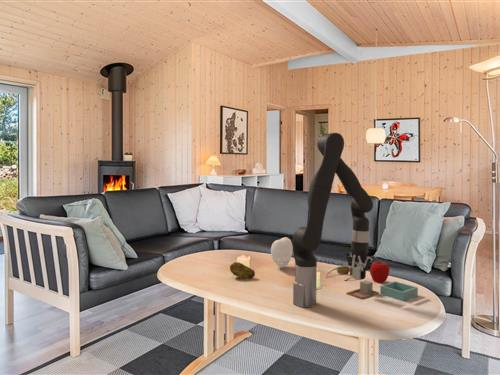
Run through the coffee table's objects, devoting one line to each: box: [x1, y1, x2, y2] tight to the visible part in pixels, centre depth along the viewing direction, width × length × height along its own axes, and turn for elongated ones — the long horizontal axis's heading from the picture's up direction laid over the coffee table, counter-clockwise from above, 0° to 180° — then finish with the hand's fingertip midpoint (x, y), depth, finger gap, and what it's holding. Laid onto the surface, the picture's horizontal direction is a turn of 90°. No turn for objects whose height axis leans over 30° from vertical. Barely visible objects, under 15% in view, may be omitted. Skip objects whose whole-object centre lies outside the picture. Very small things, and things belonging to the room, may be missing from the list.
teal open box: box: [379, 280, 419, 302], centre depth 178 cm, size 12×12×4 cm
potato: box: [229, 261, 256, 280], centre depth 206 cm, size 8×13×8 cm, turn 59°
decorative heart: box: [270, 236, 293, 271], centre depth 225 cm, size 18×11×17 cm, turn 149°
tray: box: [345, 288, 380, 300], centre depth 180 cm, size 13×9×1 cm
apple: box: [369, 261, 390, 284], centre depth 199 cm, size 10×10×11 cm
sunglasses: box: [325, 265, 353, 282], centre depth 208 cm, size 14×15×5 cm
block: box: [359, 279, 373, 295], centre depth 181 cm, size 4×4×5 cm
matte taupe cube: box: [351, 265, 366, 281], centre depth 177 cm, size 4×4×5 cm
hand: (358, 277), depth 177 cm, fingers closed on matte taupe cube, 4 cm apart
